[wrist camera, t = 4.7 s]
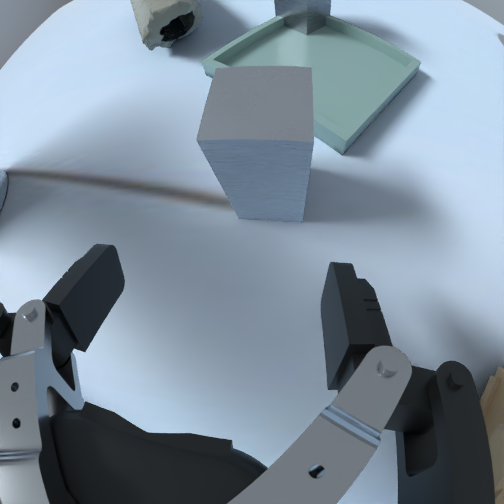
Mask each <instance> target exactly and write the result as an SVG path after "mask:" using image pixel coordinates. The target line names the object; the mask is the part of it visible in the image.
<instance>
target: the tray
mask: <svg viewBox="0 0 504 504" xmlns="http://www.w3.org/2000/svg"><path fill="white" fill-rule="evenodd" d="M420 64H421V62H420V61H419V60H417V59H416V58H414V57H412V56H411V55H409V54H408V53H406V52H404V51H403V50H401V49H399V48H397V47H396V46H394V45H392V44H390V43H389V42H387V41H385V40H383V39H381V38H379V37H377V36H375V35H373V34H371V33H369V32H367V31H365V30H363V29H361V28H359V27H356V26H354V25H352V24H350V23H347V22H345V21H343V20H340V19H338V18H335V17H333V16H328V17H326V26H324V27H322V28H320V29H318V30H316V31H314V32H312V33H310V34H308V35H305V34H302V33H300V32H298V31H295V30H293V29H290V28H287V27H285V26H284V17H281V16H276V17H274V18H272V19H270V20H269V21H267V22H265V23H263V24H261V25H259V26H257V27H255V28H254V29H252V30H250V31H248V32H247V33H245V34H243V35H242V36H240V37H238V38H237V39H235V40H233V41H232V42H230V43H228V44H227V45H225V46H224V47H222V48H221V49H219V50H218V51H216V52H215V53H213V54H212V55H210V56H209V57H207V58H206V59H204V60H203V61H202V65H203V68H204V70H205V73H206V75H207V76H209V77H212V78H213V76H214V73H215V70H216V68H224V67H240V66H297V67H312V85H313V116H314V136H315V137H317V138H318V139H320V140H321V141H323V142H324V143H326V144H327V145H329V146H330V147H331V148H333V149H334V150H336V151H337V152H338V153H340V154H341V155H343V154H344V152H345V151H346V150H347V149H348V148H349V147H350V146H351V145H352V144H353V143H354V141H355V140H356V139H357V138H358V137H359V136H360V135H361V134H362V133H363V132H364V131H365V129H366V128H367V127H368V126H369V125H370V124H371V123H372V122H373V121H374V120H375V119H376V117H377V116H378V115H379V114H380V113H381V112H382V111H383V110H384V109H385V108H386V106H387V105H388V104H389V103H390V102H391V101H392V100H393V99H394V98H395V97H396V96H397V94H398V93H399V92H400V91H401V90H402V89H403V88H404V87H405V86H406V85H407V83H408V82H409V81H410V80H411V79H412V78H413V77H414V76H415V75H416V73H417V71H418V68H419V66H420Z"/></svg>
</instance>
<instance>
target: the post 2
mask: <svg viewBox="0 0 504 504" xmlns="http://www.w3.org/2000/svg"><path fill="white" fill-rule="evenodd" d="M274 3H275V14H276V16H281V17H284V26H285V27H287V28H290V29H293V30H295V31H298V32H300V33H302V34H305V35H308V34H310V33H312V32H314V31H316V30H318V29H320V28H322V27H324V26H326V17H328V16H330V10H331V0H274Z"/></svg>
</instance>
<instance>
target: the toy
mask: <svg viewBox="0 0 504 504" xmlns="http://www.w3.org/2000/svg"><path fill="white" fill-rule="evenodd" d="M480 405H481V409H482V413H483V417H484V421H485V425H486V430H487V435H488V440H489V446H490V452H491V459H492V467H493V476H494V488H495V504H504V368H502V367H498V369H497V372H496V374H495V376H491V375H490V377H489V380H488V382H487V385H486V387H485V390H484V392H483V394H482V397H481V399H480Z"/></svg>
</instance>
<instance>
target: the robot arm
mask: <svg viewBox="0 0 504 504" xmlns="http://www.w3.org/2000/svg"><path fill="white" fill-rule="evenodd" d="M7 184H8V177H7V174H6V172H4V171H3V170H1V169H0V210H1V207H2V205H3V202H4V198H5V195H6V190H7ZM124 284H125V280H124V275H123V271H122V268H121V264H120V261H119V257H118V253H117V250H116V248H115V246H113V245H105V244H96V245H94V246H93V247H92V248H91V249H90V250H89V251H88V253H87V254H86V255H85V256H84V257H82V258H81V259H79V260H78V261H76V262H75V263H74V264H73V265H72V266H71V267H70V268H69V270H68V272H66V273H65V274H64V275H63V276H62V278H60V280H59V281H58V282H57V283H56V284H55V285H54V287H53V288H52V289H51V290H50V291H49V292H48V294H47V295H46V296H45V297H44V298H43V300H42V301H41V300H31V301H29V302H27V303H25V304H24V305H23V306H21V307H20V309H19V310H18V311H17V313H7V311H6V309H5V307H4V306H3V304H2V303H0V353H1V355H2V356H3V357H2V358H1V359H0V504H336V503H337V502H338V501H339V500H340V499H341V497H342V496H343V495H344V494H345V493H346V491H347V490H348V489H349V487H350V486H351V485H352V484H353V482H354V481H355V480H356V478H357V477H358V476H359V474H360V473H361V471H362V470H363V469H364V467H365V466H366V464H367V463H368V461H369V460H370V458H371V457H372V455H373V454H374V452H375V451H376V449H377V447H378V445H379V443H380V440H381V439H380V438H379V436H380V434H381V432H382V430H383V429H389V430H394V431H395V433H396V446H397V465H398V504H495V488H494V476H493V467H492V459H491V452H490V446H489V440H488V435H487V430H486V425H485V421H484V417H483V413H482V409H481V405H480V401H479V397H478V394H477V390H476V387H475V384H474V381H473V378H472V375H471V373H470V372H469V370H468V369H467V368H466V367H465V366H464V365H462V364H461V363H459V362H456V361H447V362H444V363H443V364H442V365H441V366H440V367H439V368H438V369H437V370H436V371H433V370H428V369H424V368H420V367H415V366H412V365H411V363H410V361H409V359H408V358H407V356H406V355H405V354H404V353H403V352H402V351H400V350H398V349H396V348H394V347H393V346H392V343H391V340H390V336H389V333H388V330H387V327H386V323H385V320H384V317H383V314H382V311H381V308H380V305H379V302H378V299H377V296H376V294H375V291H374V288H373V287H372V286H371V285H370V284H369V283H368V282H367V281H366V280H365V279H360V278H357V277H356V273H355V270H354V267H353V265H352V264H351V263H338V262H331V263H330V265H329V268H328V273H327V277H326V281H325V286H324V290H323V294H322V299H321V319H322V328H323V338H324V348H325V360H326V372H327V386H328V390H338V395H337V397H336V398H335V399H334V400H333V402H332V403H331V404H330V405H329V406H328V407H326V408H325V409H324V410H323V411H322V412H321V413H320V414H319V416H318V417H317V418H316V419H315V420H314V421H313V423H312V424H311V425H310V426H309V427H308V428H307V429H306V430H305V432H304V433H303V434H302V435H301V436H300V437H299V438H298V439H297V440H296V441H295V442H294V443H293V444H292V446H291V447H290V448H289V449H288V450H287V451H286V452H285V453H284V454H283V455H282V456H281V457H280V458H279V459H278V460H277V461H276V462H275V463H274V464H272V465H271V466H270V467H269V468H267V467H266V466H265V465H263V464H262V463H261V462H260V461H258V460H256V459H255V458H253V457H252V456H250V455H248V454H246V453H244V452H242V451H239V450H237V449H234V448H233V444H232V440H227V439H220V438H214V437H208V436H202V435H197V434H192V433H148V432H145V431H143V430H142V429H140V428H138V427H137V426H135V425H133V424H132V423H130V422H129V421H127V420H126V419H124V418H122V417H121V416H119V415H118V414H116V413H115V412H112V411H109V410H106V409H104V408H101V407H99V406H96V405H93V404H91V403H88V402H86V401H85V402H84V400H83V397H82V394H81V389H80V383H79V377H78V370H77V363H76V357H75V355H74V353H73V352H72V351H73V349H77V350H80V351H83V352H86V350H87V348H88V347H89V345H90V343H91V341H92V340H93V338H94V336H95V335H96V333H97V331H98V330H99V328H100V326H101V325H102V323H103V321H104V320H105V318H106V317H107V315H108V313H109V312H110V310H111V309H112V307H113V306H114V304H115V302H116V301H117V299H118V298H119V296H120V295H121V293H122V292H123V289H124Z"/></svg>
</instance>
